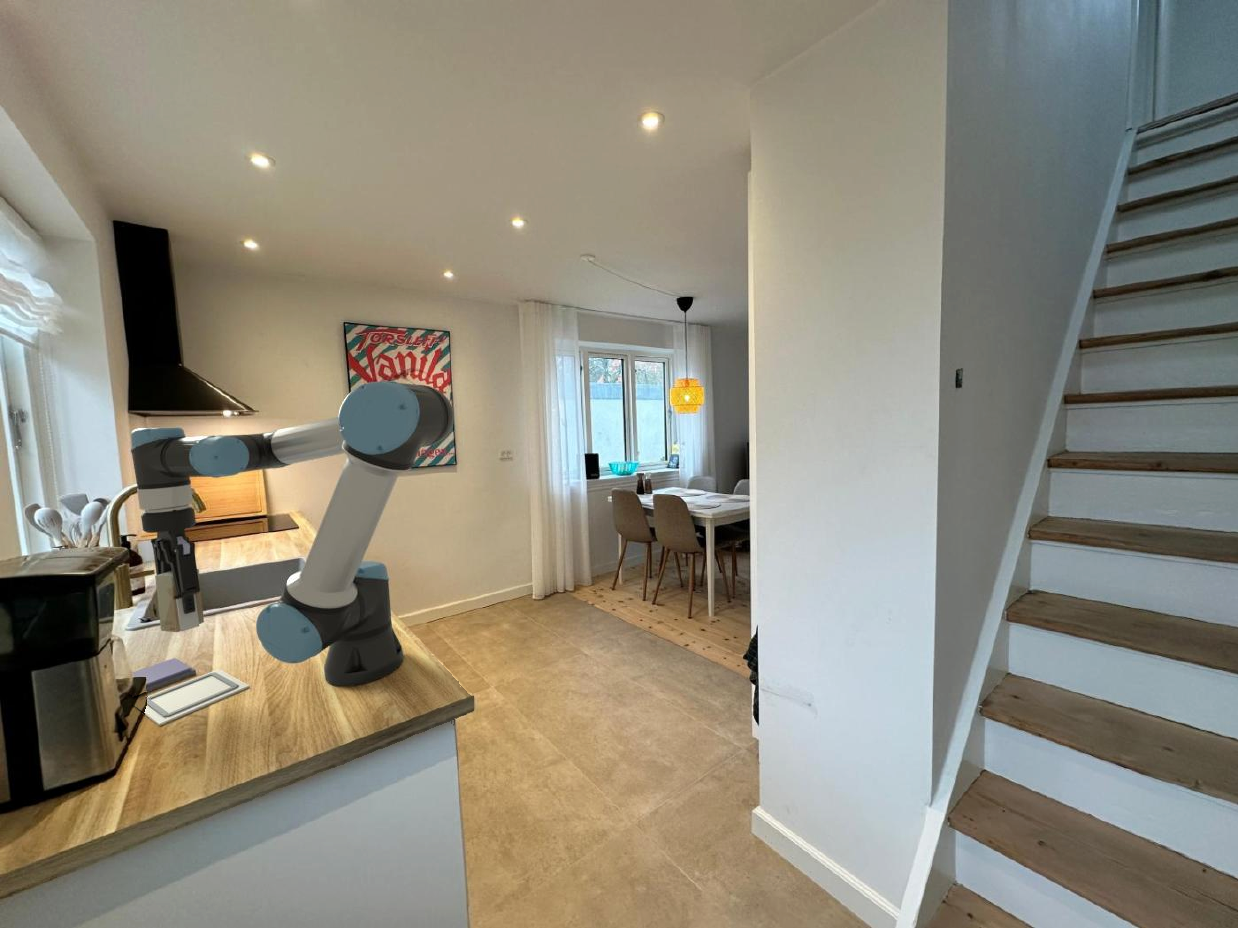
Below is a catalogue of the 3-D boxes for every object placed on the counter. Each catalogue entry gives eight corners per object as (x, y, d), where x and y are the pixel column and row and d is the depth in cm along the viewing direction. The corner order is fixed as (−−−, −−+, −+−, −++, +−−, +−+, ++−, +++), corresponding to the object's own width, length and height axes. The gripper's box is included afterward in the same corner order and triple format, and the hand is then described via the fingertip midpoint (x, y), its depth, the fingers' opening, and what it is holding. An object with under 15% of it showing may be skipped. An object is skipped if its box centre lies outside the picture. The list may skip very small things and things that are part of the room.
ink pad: (195, 673, 106) (195, 666, 105) (133, 697, 97) (132, 689, 97) (177, 663, 111) (176, 656, 110) (116, 684, 102) (115, 677, 102)
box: (177, 633, 93) (169, 576, 91) (159, 631, 94) (152, 575, 92) (206, 621, 98) (199, 567, 97) (189, 620, 99) (183, 566, 98)
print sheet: (249, 687, 99) (249, 683, 99) (159, 725, 87) (158, 722, 87) (218, 670, 107) (218, 667, 106) (131, 704, 95) (131, 701, 95)
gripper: (212, 508, 92) (227, 626, 94) (174, 502, 101) (188, 610, 103) (160, 515, 85) (177, 643, 88) (124, 509, 95) (140, 624, 97)
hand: (183, 625), depth 96 cm, fingers closed on box, 5 cm apart
